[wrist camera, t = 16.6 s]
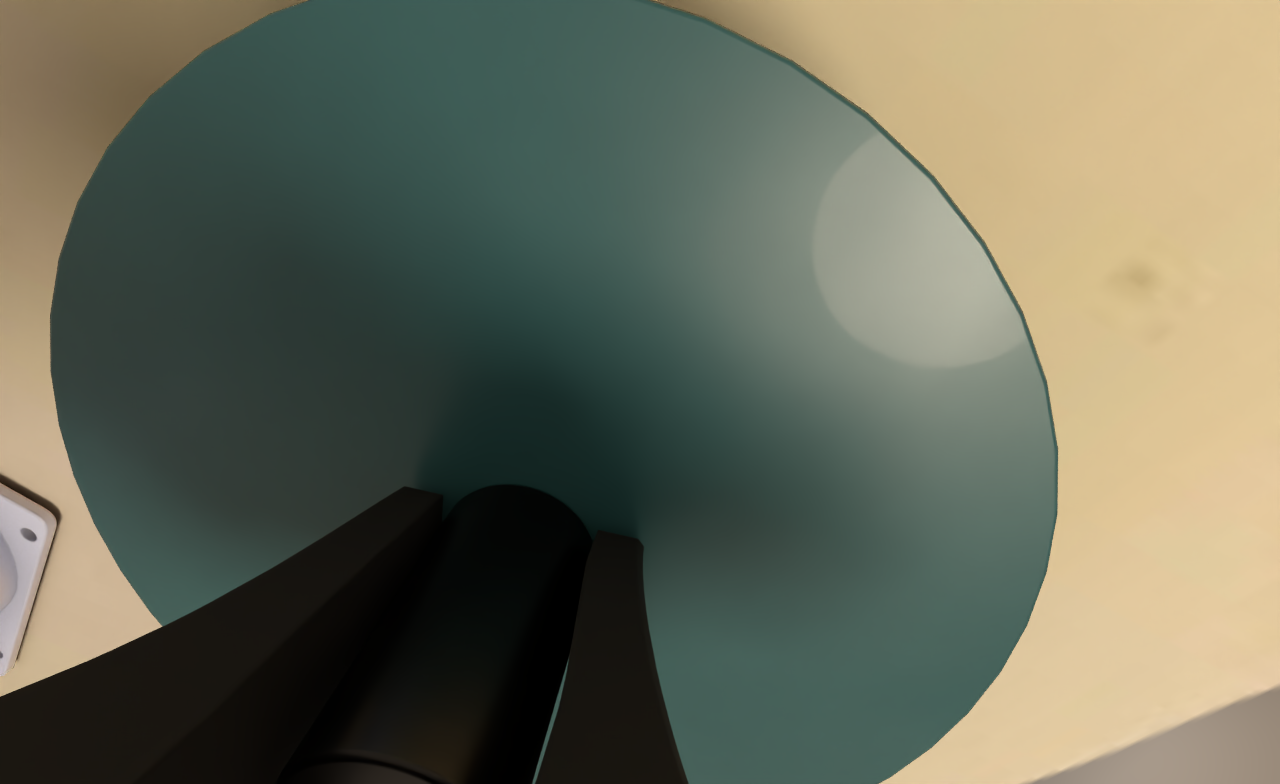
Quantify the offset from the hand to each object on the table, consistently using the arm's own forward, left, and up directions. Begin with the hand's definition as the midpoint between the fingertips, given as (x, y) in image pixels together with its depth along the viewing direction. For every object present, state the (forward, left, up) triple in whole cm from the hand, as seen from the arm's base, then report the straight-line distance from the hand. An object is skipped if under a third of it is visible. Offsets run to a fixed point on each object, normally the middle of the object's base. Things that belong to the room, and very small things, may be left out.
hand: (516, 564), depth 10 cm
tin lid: (0, 0, -1) cm, 1 cm away
